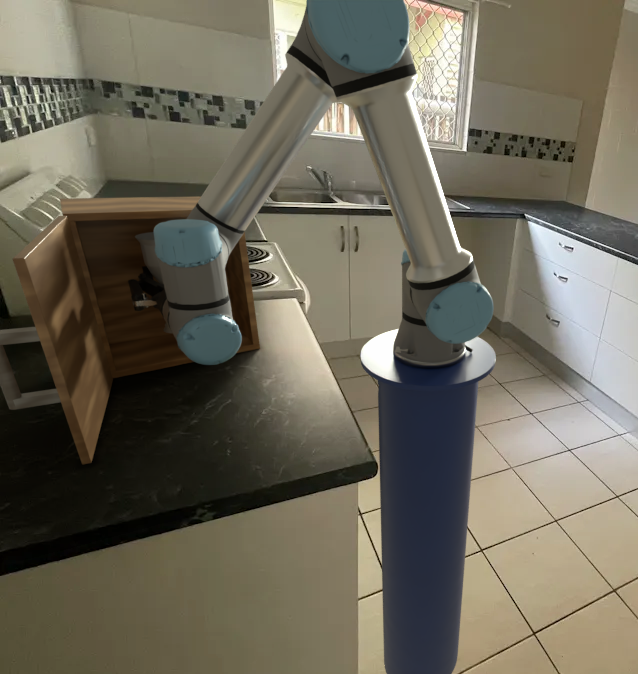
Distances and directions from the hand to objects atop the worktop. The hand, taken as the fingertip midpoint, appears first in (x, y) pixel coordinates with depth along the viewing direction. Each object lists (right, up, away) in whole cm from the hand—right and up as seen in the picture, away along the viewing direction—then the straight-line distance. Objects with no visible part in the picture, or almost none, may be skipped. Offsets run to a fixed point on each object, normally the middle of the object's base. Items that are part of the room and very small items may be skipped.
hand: (163, 271), depth 91 cm
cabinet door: (+2, -25, -20) cm, 32 cm away
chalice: (+3, -11, +1) cm, 11 cm away
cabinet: (+2, -15, +3) cm, 15 cm away
